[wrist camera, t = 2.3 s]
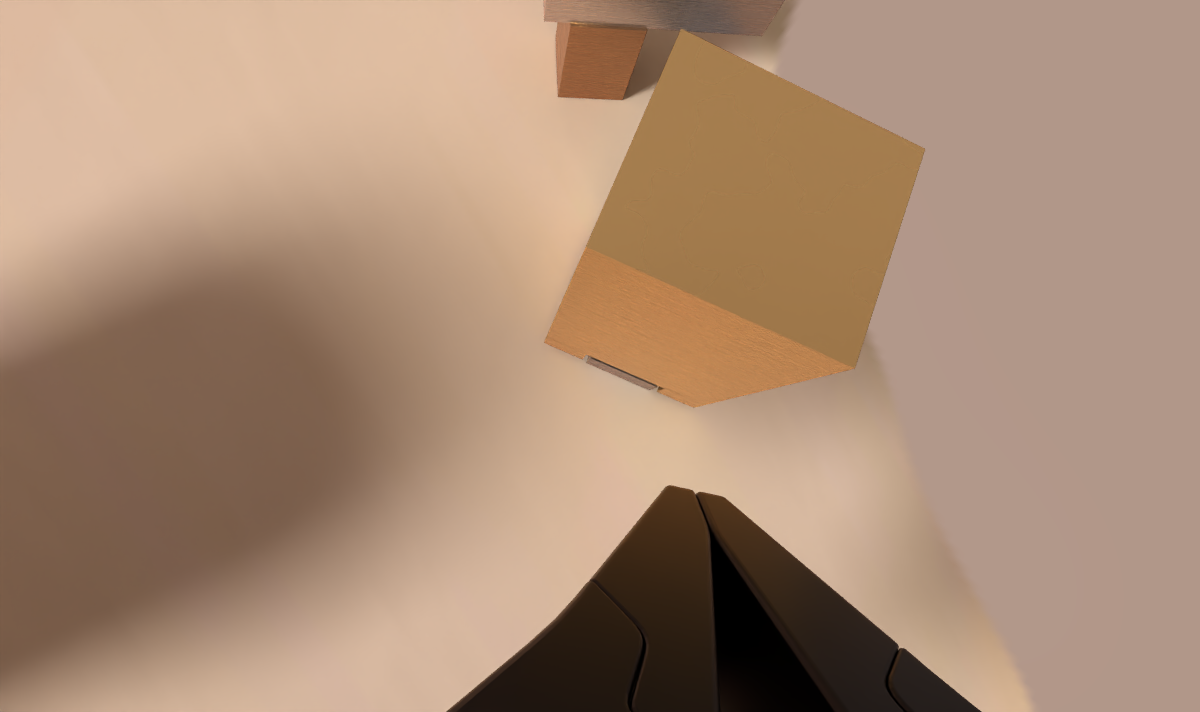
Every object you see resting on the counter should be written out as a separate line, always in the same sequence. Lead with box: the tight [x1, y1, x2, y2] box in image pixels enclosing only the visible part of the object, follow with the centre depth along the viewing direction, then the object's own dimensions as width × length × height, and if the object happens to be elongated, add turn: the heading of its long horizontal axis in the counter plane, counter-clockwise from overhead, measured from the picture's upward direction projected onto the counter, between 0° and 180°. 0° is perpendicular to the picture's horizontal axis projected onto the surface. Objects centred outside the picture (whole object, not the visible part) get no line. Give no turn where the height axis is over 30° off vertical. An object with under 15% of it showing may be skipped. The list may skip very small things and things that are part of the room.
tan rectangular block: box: [544, 29, 925, 408], centre depth 17 cm, size 5×6×10 cm
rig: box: [543, 0, 784, 390], centre depth 20 cm, size 13×9×6 cm, turn 158°
